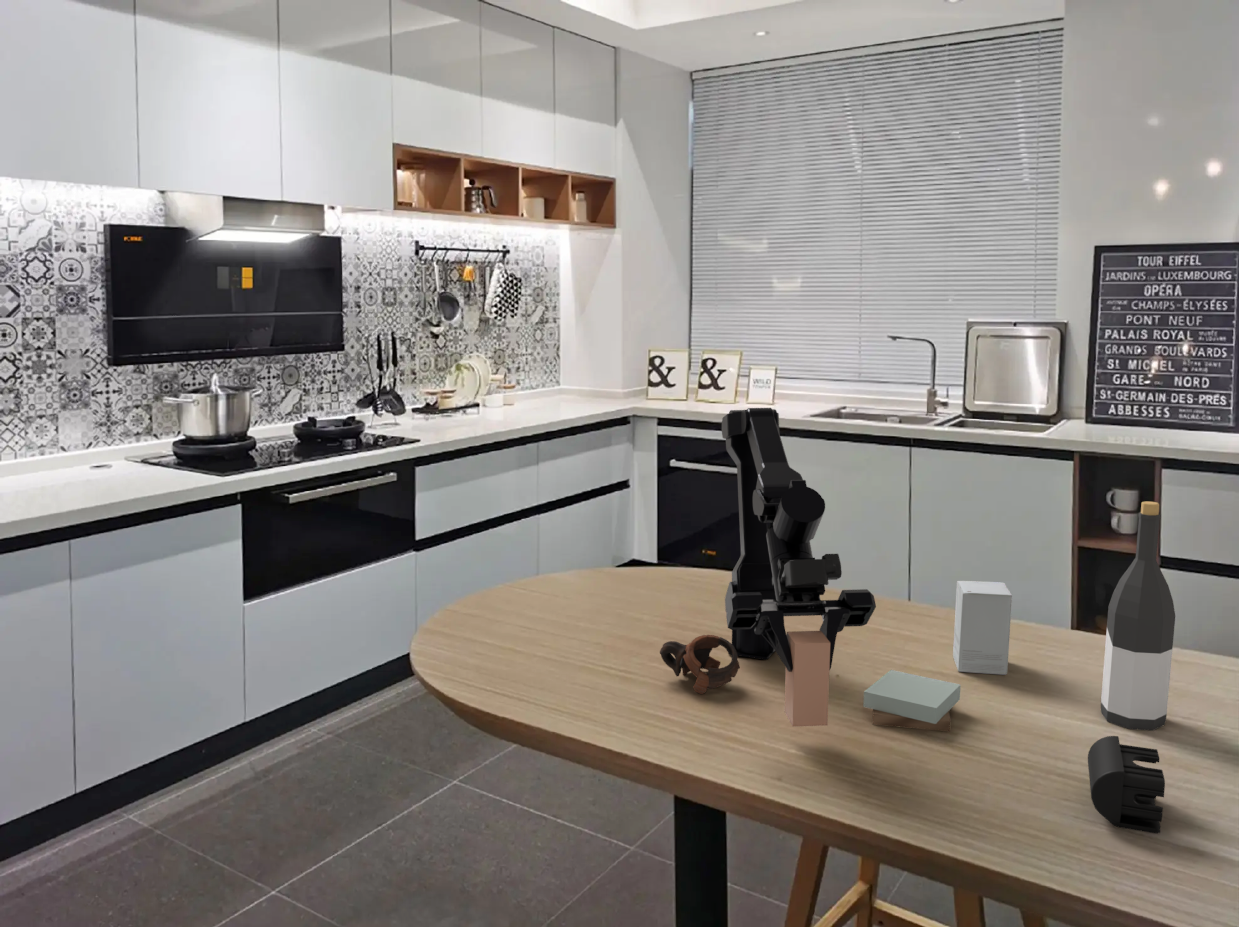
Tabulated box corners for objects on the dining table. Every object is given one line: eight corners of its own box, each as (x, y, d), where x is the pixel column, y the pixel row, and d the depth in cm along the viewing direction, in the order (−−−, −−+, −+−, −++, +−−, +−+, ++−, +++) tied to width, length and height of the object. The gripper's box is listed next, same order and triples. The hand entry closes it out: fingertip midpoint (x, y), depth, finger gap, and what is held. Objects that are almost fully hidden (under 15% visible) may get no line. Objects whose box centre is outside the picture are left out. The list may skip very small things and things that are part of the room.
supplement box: (1008, 675, 159) (1013, 595, 157) (957, 672, 161) (961, 592, 159) (1000, 659, 166) (1005, 581, 164) (952, 655, 168) (956, 579, 166)
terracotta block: (784, 712, 138) (786, 631, 136) (818, 710, 138) (820, 630, 136) (792, 726, 134) (794, 643, 132) (827, 725, 134) (830, 642, 132)
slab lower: (872, 729, 142) (872, 713, 142) (872, 700, 152) (873, 686, 151) (949, 736, 140) (950, 720, 140) (945, 707, 149) (946, 692, 149)
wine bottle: (1162, 736, 138) (1182, 511, 133) (1095, 722, 142) (1112, 505, 137) (1168, 714, 145) (1187, 500, 140) (1104, 702, 149) (1120, 494, 144)
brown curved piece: (736, 673, 162) (748, 638, 157) (724, 721, 155) (736, 685, 150) (661, 650, 163) (670, 614, 158) (646, 696, 156) (655, 660, 151)
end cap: (1085, 785, 125) (1089, 731, 124) (1152, 795, 122) (1156, 740, 121) (1088, 825, 116) (1093, 767, 115) (1160, 837, 113) (1166, 778, 112)
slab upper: (863, 706, 144) (863, 691, 144) (890, 684, 152) (891, 669, 152) (935, 724, 138) (936, 708, 138) (959, 699, 146) (960, 684, 146)
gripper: (731, 532, 135) (746, 644, 126) (874, 529, 136) (899, 640, 127) (720, 574, 144) (733, 682, 135) (854, 571, 145) (876, 677, 137)
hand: (809, 670), depth 133 cm, fingers closed on terracotta block, 4 cm apart
